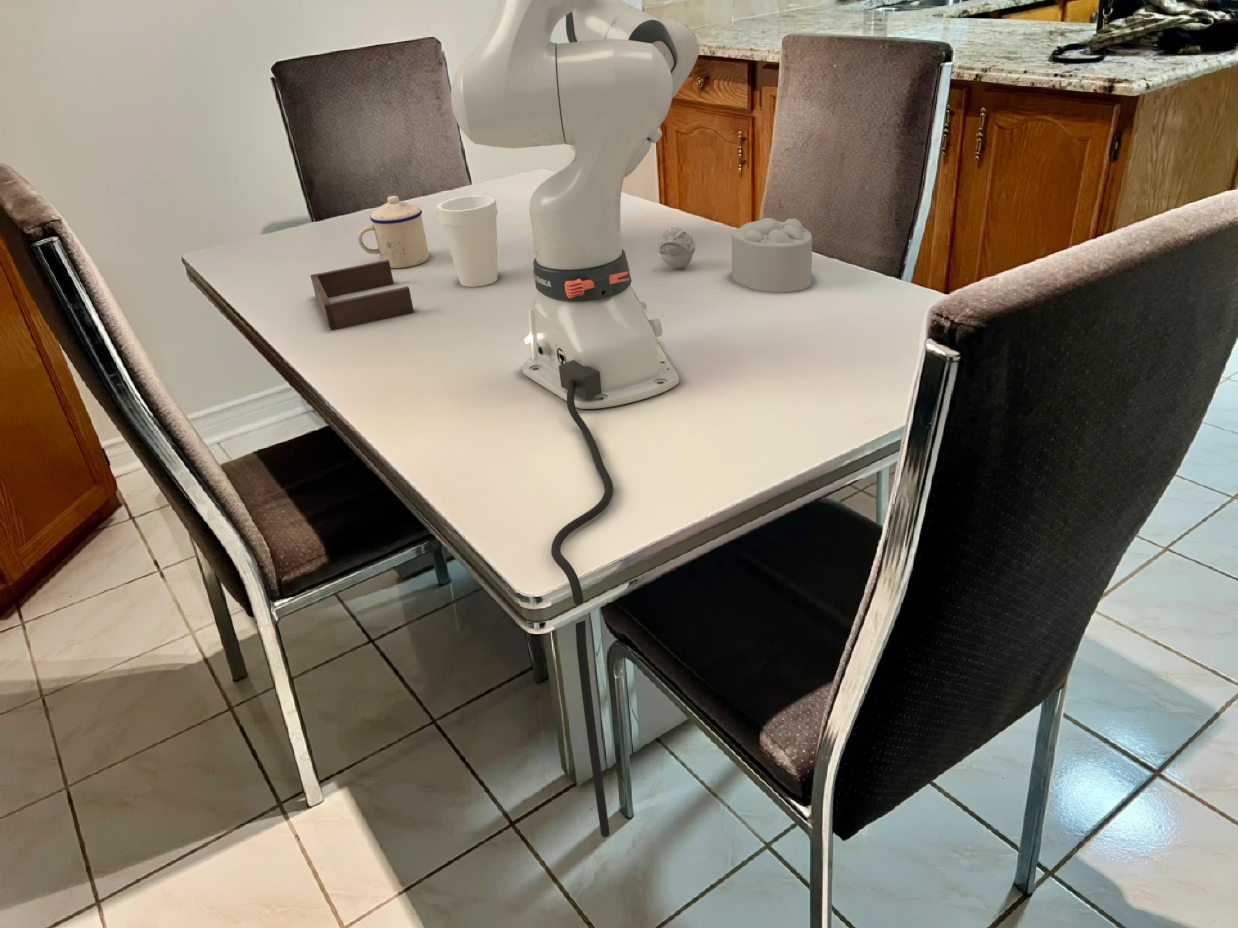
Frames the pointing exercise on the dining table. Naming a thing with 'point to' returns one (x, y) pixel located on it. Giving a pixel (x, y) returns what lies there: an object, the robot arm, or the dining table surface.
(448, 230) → the foam cup
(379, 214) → the teacup with lid
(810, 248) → the lumpy-topped squat cylinder
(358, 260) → the dining table surface
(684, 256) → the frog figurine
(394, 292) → the bay
